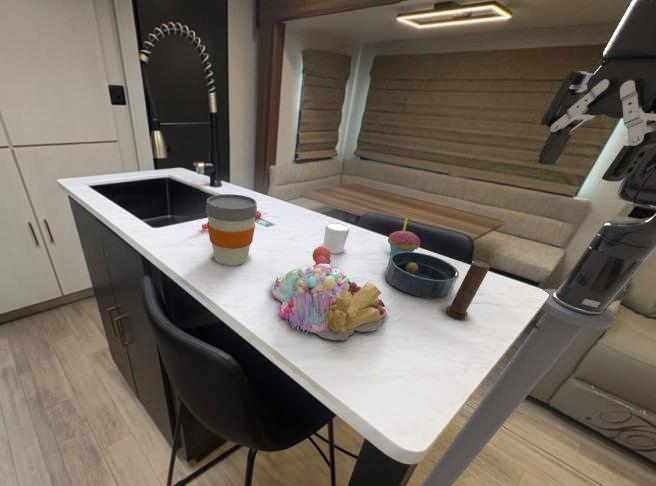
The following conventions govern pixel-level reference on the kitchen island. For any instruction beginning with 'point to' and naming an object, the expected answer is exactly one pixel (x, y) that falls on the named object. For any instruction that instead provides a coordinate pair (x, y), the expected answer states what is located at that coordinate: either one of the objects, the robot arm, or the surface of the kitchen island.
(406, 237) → the cupcake
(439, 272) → the bowl
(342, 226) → the white short cylinder
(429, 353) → the kitchen island surface
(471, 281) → the brown flared cylinder
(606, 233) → the robot arm
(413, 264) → the bead
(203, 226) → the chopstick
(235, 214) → the reusable coffee cup
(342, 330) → the multicoloured low lumpy mound
